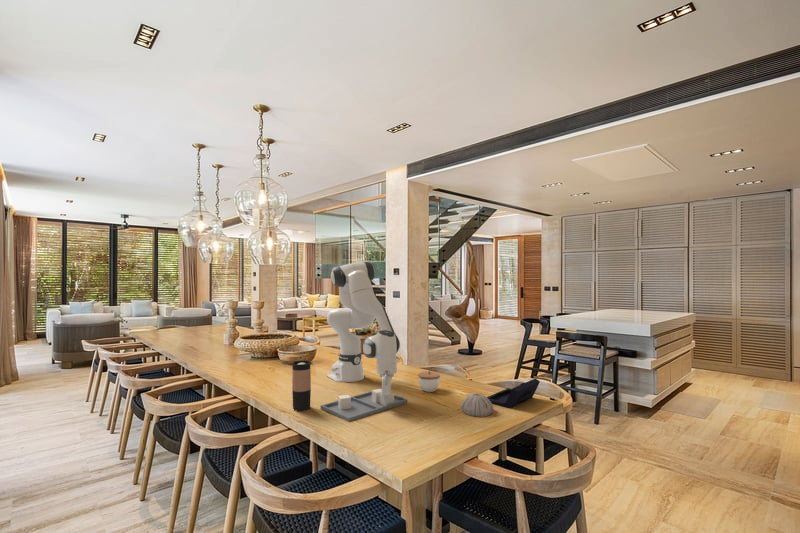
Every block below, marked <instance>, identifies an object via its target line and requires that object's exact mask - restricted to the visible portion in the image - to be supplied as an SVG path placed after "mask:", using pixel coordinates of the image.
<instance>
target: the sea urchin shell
mask: <svg viewBox="0 0 800 533" xmlns="http://www.w3.org/2000/svg"><path fill="white" fill-rule="evenodd" d="M487 397H488V396H486V395H485V394H482V393H470V394H469V395H467V396H466V397H465V398H464V399H463V400H462V402H461V404H460V409H461V412H463V414H464V413H465V414H466V415H468V416H471V417H487V416H490V415H492V414H493V413H494V405H493V404H492V403H491V401H490V400H489V399H488V398H487Z"/></svg>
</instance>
